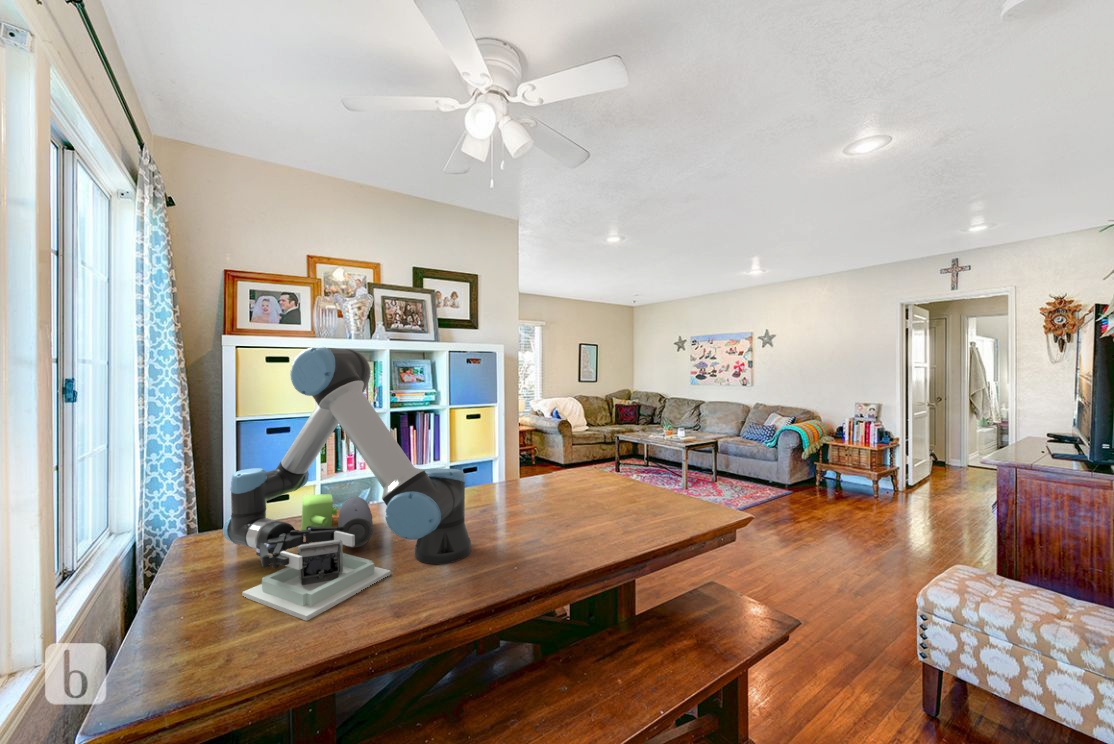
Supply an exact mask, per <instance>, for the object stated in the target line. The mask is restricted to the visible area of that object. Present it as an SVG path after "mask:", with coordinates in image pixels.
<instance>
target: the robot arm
mask: <svg viewBox="0 0 1114 744" xmlns="http://www.w3.org/2000/svg"><path fill="white" fill-rule="evenodd" d="M289 374H290V381H291V384H292V386H293V388H294V389H295V390H296V392H298V393H300V394H302V395H305V396H308V397H310V396H311V397H312V398H313V399H314V401H315V403H316V404H317V405H316V406H315V408H314V409H313V411H312V413H310V415H309V417H308V419H307V420H306V422H305V424H303V426H302V428H301V430H300V431H299V433H298V434H297V436H296V437H295V439H294V440H293V442H292V444H291V445H290V447H289V448H288V450H287V452H286V453H285V454H284V456H283V458H282V459H281V461H280V462H279V464H278V465H277V466H276V468H274V469H273V470H269V471H266V470H265V469H264V468H261V467H260V468H259V467H258V468H257V467H254V468H247V469H241V470H240V469H239V470H238V471H237V470H236V471H235V472H234V473H233V474H232V476H231V482H230V498H231V499H230V500H231V501H230V502H231V505H230V507H231V515H230V517H229V518H228V519H227V520H226V521H225V523H224V525H223V528H222V534H223V536H224V538H225V539H226V540H228V541H229V542H232V543H233V544H235V545H238V546H245V547H248V548H251V549H255V550H256V552H255V555H256V556H258V557H259V559H260V564H261V567H262V569H266V568H268V567H270V565H272V569H278V568H280V566H283V567H291V568H294V569H297V570H300V569H302V556H299V555H298V554H295V553H292V552H288V551H287V550H290V549H292V548H298V547H299V546H300V545H303V544H310V543H318V542H325V541H332V540H339V539H340V540H341V541H342V546H346V547H348V546H350V547H349V548H354V547H353V546H355V535H353V534H348V533H344V527H339V526H332V527H313V526H308V527H306V530H301V529H299V530H298V529H295V527H294V526H293V525H292V524H291V523H288V522H285V521H280V520H277V519H271V518H267V501H270V500H272V499H275V498H277V497H280V496H283V495H286V494H288V493H292V492H295V491H297V490H299V489H301V488H303V487H305V486H306V484H307V483H308V481H309V475H310V473H309V469H310V467H312V465H313V463H314V461H315V460H316V458H317V457H318V455H319V454H320V453H321V451H322V449H323V448H324V446H325V444H326V443H327V442H328V441H329V438H330V437H331V435H332V434H333V432H334V431H335V429H336V428H337V427H338V425H340V427H341V429H342V430H343V431H344V433H345V434H346V436H347V437H348V439H349V441H350V442H351V443H352V444H353V446H354V448H355V449H356V450H357V452H358V453H359V455H360V456H361V458H362V460H363V461H364V462H365V464H366V465H367V467H368V468H369V470H370V471H371V473H372V474H373V475H374V477H375V478H376V480H377V482H378V483H379V485H381V487H382V489H383V492H382V496H381V499H382V501H383V502H384V504H385V505H386V508H385V521H386V522H385V523H386V525H387V526H388V528H389V529H390V530H391V532H393V534H395V535H396V536H398V537H400V538H401V539H405V540H411V541H412V540H416V543H415V545H414V558H415V559H416V560H417V561H419V562H421V563H424V564H430V565H441V564H442V565H443V564H449V563H453V562H458V561H459V560H460V561H461V560H462V559H464V558H465V557H467V556H468V555H470V553H471V551H472V542H471V538H470V537H469V532H468V529H467V526H466V522H465V515H466V514H465V511H466V510H465V505H466V503H465V501H466V500H465V499H466V497H465V495H466V494H465V493H466V492H465V491H466V489H465V488H466V487H465V484H466V480H465V472H464V471H463V470H461V469H457V468H429V469H423V468H418V467H415V466H414V464H413V463H412V462H411V460H410V459H409V458H408V455H406V453H405V452H404V450H403V449H402V447H401V446H400V445H399V443H398V441H397V439H395V437H394V436H393V434H392V432H391V431H390V430H389V428H388V427H387V426H386V424H385V423H384V421H383V420H382V418H381V417H380V415H379V414H378V413H377V411H376V410H375V408H374V406H373V405H372V404H371V402H370V401H369V400H368V398H367V396H366V394H365V393H364V392H365V391H366V389H367V388H368V385H369V382H370V379H371V367H370V363H369V361H368V359H367V358H366V357H365V356H364V355H363V354H362V353H360V352H358V351H357V350H353V349H349V348H335V347H334V348H332V347H326V346H317V347H309V348H306V349H305V350H304V349H303V350H302V351H301V352H299V353H298V355H296V357H295V358H294V359H293V361H292V363H291V370H290V372H289ZM304 539H305V541H304Z"/></svg>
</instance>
